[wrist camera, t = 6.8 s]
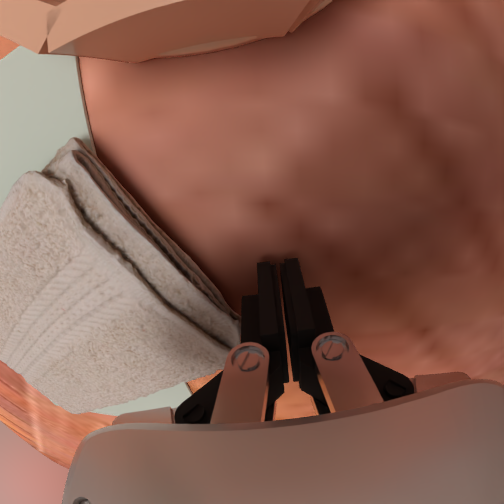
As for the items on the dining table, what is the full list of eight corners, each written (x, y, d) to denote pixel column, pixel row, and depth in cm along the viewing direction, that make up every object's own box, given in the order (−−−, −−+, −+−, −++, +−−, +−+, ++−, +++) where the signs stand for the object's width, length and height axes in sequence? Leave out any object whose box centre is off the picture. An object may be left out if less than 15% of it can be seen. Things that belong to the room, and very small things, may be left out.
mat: (-83, 146, 7) (-85, 147, 7) (73, 15, 6) (71, 14, 6) (55, 403, 21) (54, 404, 21) (207, 419, 20) (207, 421, 20)
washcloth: (263, 314, 14) (266, 366, 11) (83, 398, 19) (73, 428, 16) (79, 112, 9) (29, 127, 6) (-25, 304, 14) (-45, 331, 11)
